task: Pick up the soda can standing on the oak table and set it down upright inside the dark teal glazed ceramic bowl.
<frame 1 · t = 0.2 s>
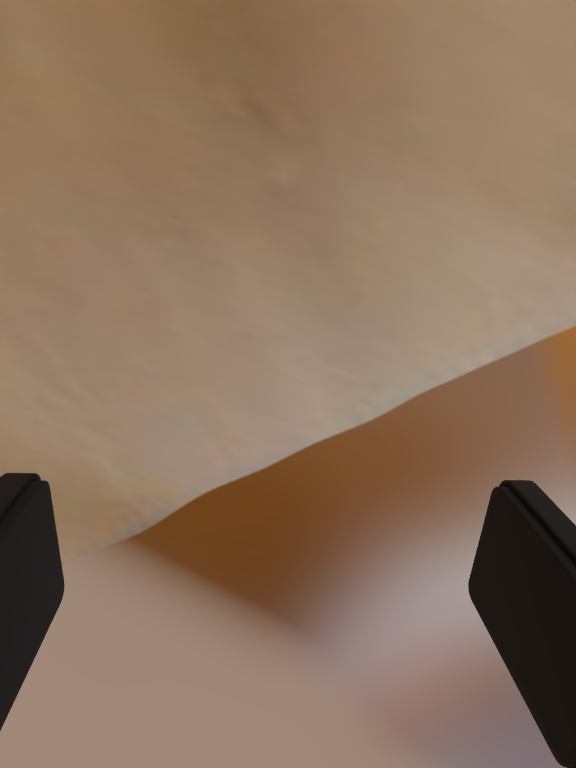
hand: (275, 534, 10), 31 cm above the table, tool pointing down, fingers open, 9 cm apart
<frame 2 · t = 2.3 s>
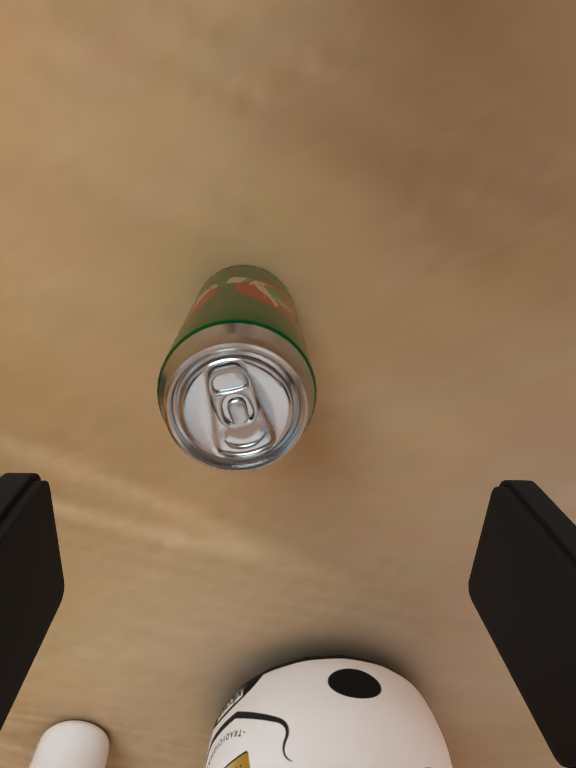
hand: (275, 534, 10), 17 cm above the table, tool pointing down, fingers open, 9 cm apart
milk container: (318, 706, 38), on the table
soda can: (245, 311, 25), on the table
drinking glass: (77, 735, 38), on the table
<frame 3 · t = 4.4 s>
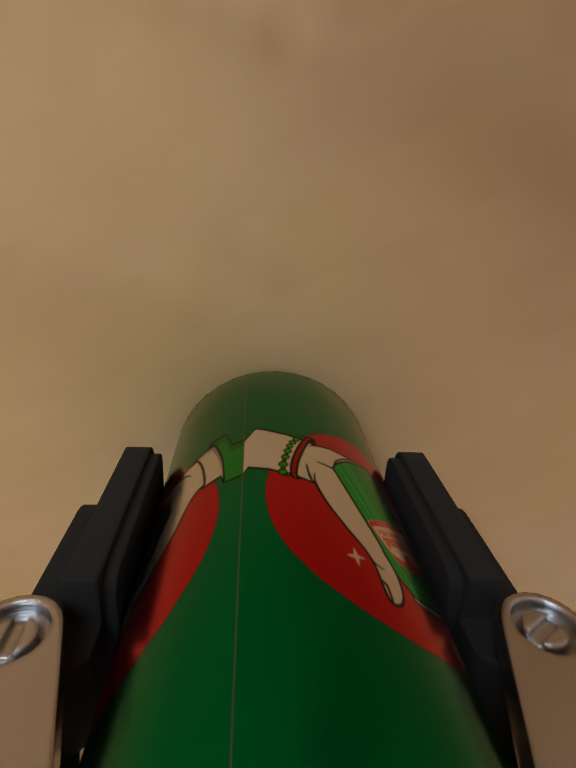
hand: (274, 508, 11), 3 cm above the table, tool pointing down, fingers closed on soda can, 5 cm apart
soda can: (270, 443, 14), on the table, touching gripper
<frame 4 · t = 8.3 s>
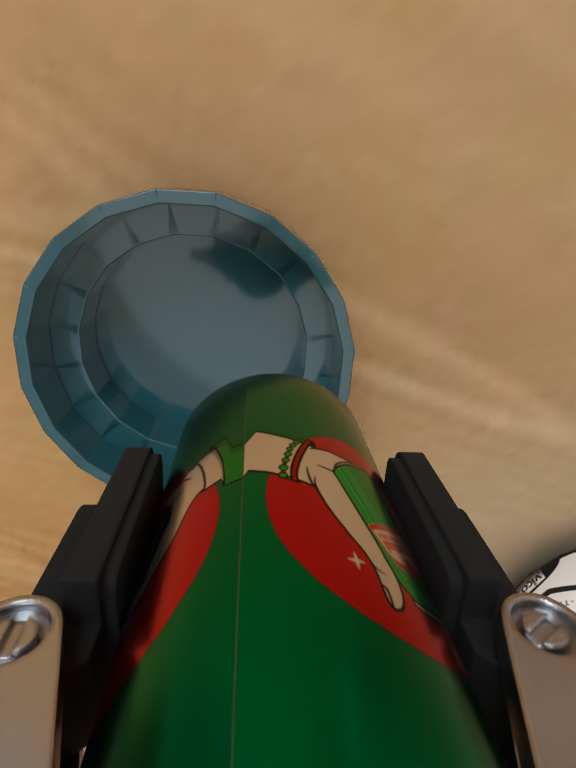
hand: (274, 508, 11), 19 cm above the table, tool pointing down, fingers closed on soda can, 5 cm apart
soda can: (270, 445, 14), point 16 cm above the table, touching gripper
bowl: (201, 334, 29), on the table
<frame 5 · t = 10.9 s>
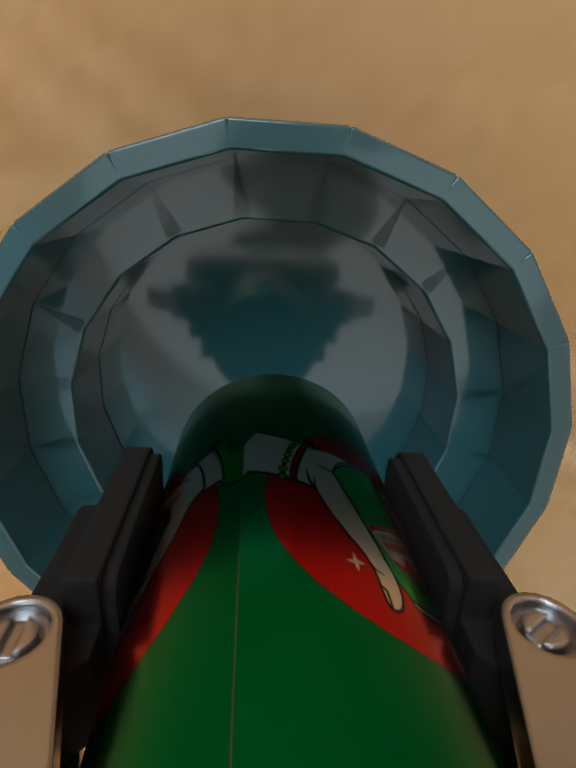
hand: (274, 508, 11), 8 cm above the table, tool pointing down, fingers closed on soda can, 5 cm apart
soda can: (270, 445, 14), point 5 cm above the table, touching gripper
bowl: (266, 380, 18), on the table
when the fingers open (3 cm above the table, at t = 12.5 s): soda can stays where it is, resting on bowl.
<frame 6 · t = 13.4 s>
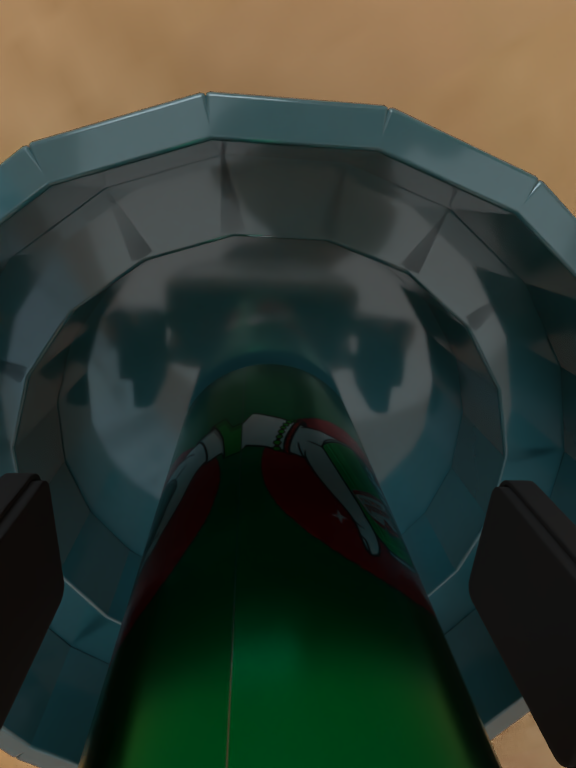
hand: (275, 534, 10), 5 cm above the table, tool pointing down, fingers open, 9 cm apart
soda can: (267, 432, 15), resting on bowl
bowl: (265, 426, 15), on the table
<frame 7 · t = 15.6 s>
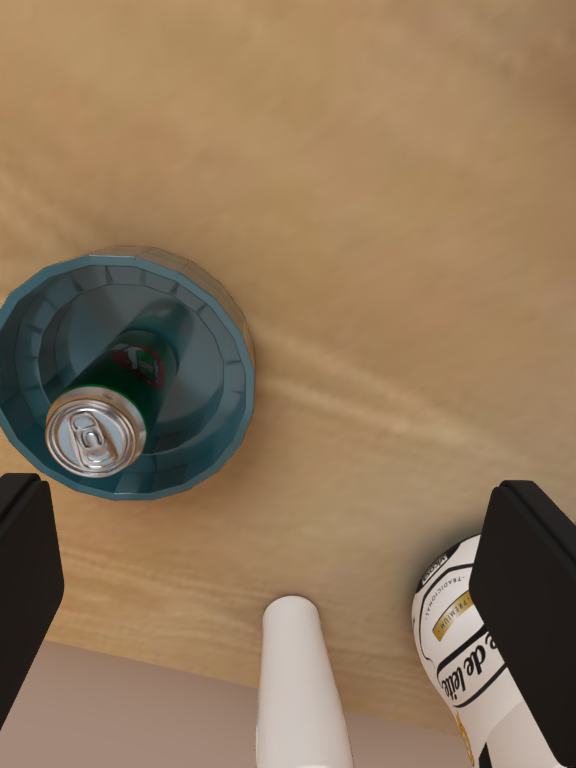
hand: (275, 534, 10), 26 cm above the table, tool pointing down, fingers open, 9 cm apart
milk container: (489, 583, 46), on the table
soda can: (143, 361, 35), resting on bowl
drinking glass: (290, 612, 45), on the table
bowl: (143, 359, 35), on the table
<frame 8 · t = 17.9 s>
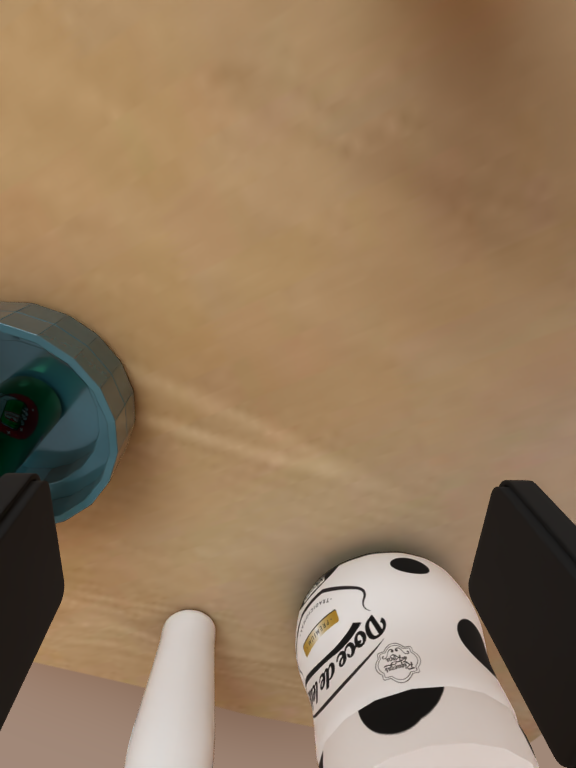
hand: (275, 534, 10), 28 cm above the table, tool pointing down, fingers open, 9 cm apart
milk container: (375, 601, 49), on the table
soda can: (32, 401, 38), resting on bowl
drinking glass: (190, 624, 49), on the table
bowl: (33, 399, 39), on the table
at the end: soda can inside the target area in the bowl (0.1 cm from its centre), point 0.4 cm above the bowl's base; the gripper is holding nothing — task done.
